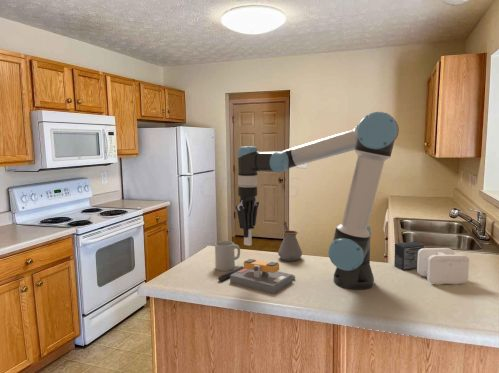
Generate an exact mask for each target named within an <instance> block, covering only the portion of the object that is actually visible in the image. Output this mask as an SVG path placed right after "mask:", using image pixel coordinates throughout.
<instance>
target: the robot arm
mask: <svg viewBox="0 0 499 373" xmlns="http://www.w3.org/2000/svg"><path fill="white" fill-rule="evenodd" d="M399 128H400V127H399V124H398V122H397V121H396V120H395V118H394V117H393V116H392V115H390V114H389V113H387V112H384V111H373V112H370V113H368V114H367V115H365V116H364V117H363V118H362V119H361V120H360V121H359V123H358V124H357V125H356V126H355V127H354V128H353V129H350V130H347V131H343V132H340V133H337V134H333V135H330V136H327V137H325V138H320V139H317V140H313V141H311V142H307V143H304V144H301V145H298V146H294V147H291V148H288V149H285V150H284V149H283V150H280V151H279V150H278V151H259V150H258V146H240V147H239V148H238V150H237V151H238V152H237V170H238V172H237V175H238V176H237V177H238V178H237V184H238V185H237V186H238V187H237V196H238V197H239V198H240V199H239V204H237V205H236V204H235V209H236V212H237V217H238V224H239V228H240V229H242V230H243V245H244V246H252V245H253V241H252V237H253V229H255V226H256V223H257V216H258V209H259V205H260V202H259V201H257V200H256V197H257V196H258V172H271V173H284V172H286V171H287V170H290V169H291V168H294V167H297V166H301V165H305V164H308V163H312V162H315V161H320V160H323V159H326V158H327V159H328V158H330V157H334V156H337V155H342V154H345V153H348V152H353V151H355V153H356V155H357V160H356V162H355V163H356V164H355V167H354V169H353V170H354V171H353V174H352V180H351V184H350V188H349V192H348V196H347V201H346V204H345V208H344V212H343V217H342V221H341V222H340V223H339V224H337V225H336V227H335V230H334V235H333V239H332V242H331V243H330V245H329V247H328V251H327V253H328V257H329V260H330V261H331V263H332V264H333V265H334V266H335V267H336V268H335V271H334V274H333V282H334V284H336V285H337V286H339V287H342V288H345V289H351V290H366V289H371V288H372V287H374V285H375V277H374V274H373V271H372V267H371V262H370V260H371V258H370V257H371V236H372V232H371V227H370V226H369V222H370V219H371V215H372V210H373V206H374V202H375V199H376V195H377V191H378V187H379V183H380V179H381V175H382V172H383V168H384V163H385V162H386V160H388V159H390V158H391V157H392V153H393V149H394V145H395V141H396V140H397V138H398V136H399V131H400V130H399Z"/></svg>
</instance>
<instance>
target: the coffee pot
mask: <svg viewBox="0 0 499 373" xmlns="http://www.w3.org/2000/svg"><path fill="white" fill-rule="evenodd" d="M287 223H288V222H287V221H285V220H284V221H283V225H284V227H285V230H284V231H283V234H284V238H283V240H282V241H281V243H280V246H279V250H278V251H277V254H278V256H279V257H280V258H281V259H282V260H283V261H285V262H295V261H298V260H299V259H300V258H301V257H302V255H303V251H302V249H301V248H302V247H300V246H301V245H300V244H299V240H298V239H297V235H298V231H295V230H289V228H288V225H287Z"/></svg>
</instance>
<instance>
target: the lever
mask: <svg viewBox="0 0 499 373" xmlns="http://www.w3.org/2000/svg"><path fill="white" fill-rule="evenodd" d="M262 261H263V260H262ZM262 261H261V260H256V259H251V258H249V259H247V260H245V261H243V267H244V269H250V270H254V265H259V266H260V271H264V272H270V273H275V272H277V271H280V263H279V262H274V261H270V262H269V261H266V262H262Z"/></svg>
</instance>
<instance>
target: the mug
mask: <svg viewBox="0 0 499 373" xmlns="http://www.w3.org/2000/svg"><path fill="white" fill-rule="evenodd" d="M235 249H236V251H237V253H236V255H235ZM214 250H215V252H214V253H215V254H214V255H215V258H214V260H215V263H214V264H215V269H216V270H217V271H221V272H222V271H223V272H226V271H227V272H229V271H232V270H234V269H236V266H235V265H236V263H235V261H236V260H238V259H239V258H240V256H241V248H240V246H239V244H235V242H234V241H230V240H222V241H221V240H219V241H217V242H215V244H214Z"/></svg>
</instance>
